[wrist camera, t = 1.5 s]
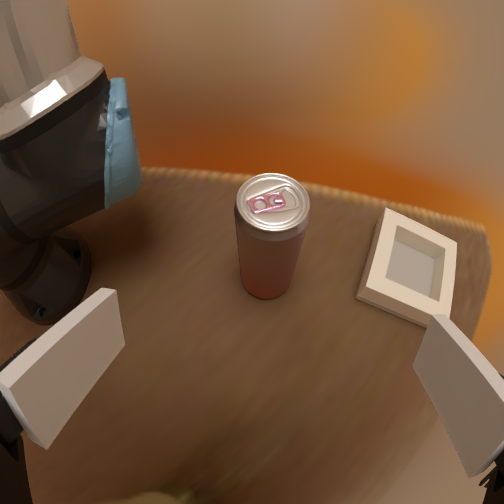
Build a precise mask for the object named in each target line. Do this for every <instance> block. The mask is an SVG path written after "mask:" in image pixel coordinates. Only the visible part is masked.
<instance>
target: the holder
mask: <svg viewBox="0 0 504 504" xmlns="http://www.w3.org/2000/svg"><path fill="white" fill-rule="evenodd" d="M456 252H457V243H456V242H454V241H453V240H451V239H449V238H447V237H445V236H443V235H441V234H439V233H437V232H435V231H434V230H432V229H430V228H428V227H426V226H424V225H422V224H420V223H418V222H416V221H413V220H411V219H409V218H407V217H405V216H403V215H401V214H399V213H397V212H394V211H392V210H390V209H388V208H385V210H384V212H383V213H382V215H381V217H380V218H379V220H378V222H377V223H376V226H375V230H374V234H373V238H372V241H371V245H370V249H369V252H368V256H367V259H366V263H365V266H364V270H363V273H362V276H361V279H360V283H359V286H358V289H357V292H356V295H355V299H358V300H360V301H362V302H365V303H367V304H370V305H372V306H374V307H377V308H379V309H381V310H384V311H386V312H389V313H391V314H393V315H396V316H398V317H401V318H403V319H405V320H408V321H410V322H412V323H415V324H417V325H420V326H422V327H424V328H427V326H428V323H429V320H430V317H431V314H445V315H446V316H447V317H448V318H449V316H450V310H451V303H452V296H453V288H454V278H455V267H456Z"/></svg>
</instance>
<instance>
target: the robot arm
mask: <svg viewBox="0 0 504 504" xmlns="http://www.w3.org/2000/svg"><path fill="white" fill-rule="evenodd" d="M141 183H142V170H141V165H140V159H139V154H138V149H137V144H136V138H135V133H134V127H133V122H132V115H131V109H130V103H129V97H128V92H127V85H126V80H125V79H124V78H116V77H115V78H112V79H111V80H110V81H109V80H108V78H107V75H106V72H105V69H104V66H103V64H102V63H100V62H97V61H94V60H92V59H89V58H86V57H84V56H83V55H82V54H81V52H80V49H79V46H78V42H77V39H76V36H75V32H74V28H73V25H72V21H71V17H70V14H69V9H68V6H67V1H66V0H0V289H1V290H2V291H3V292H4V293H5V295H6V296H7V297H8V299H9V300H10V301H11V302H12V304H13V305H14V306H15V307H16V309H17V310H18V311H19V312H20V313H21V314H22V315H23V316H24V317H26V318H27V319H29V320H31V321H33V322H35V323H38V324H42V325H49V324H53V323H56V322H57V323H56V324H55V325H54V326H53V327H51V328H50V329H49V330H48V331H47V332H45V333H44V334H43V335H42V336H41V337H38V338H36V339H34V340H32V341H30V342H28V343H27V344H26V345H24V346H23V347H22V348H21V349H20V351H17V352H16V353H15V354H14V355H13V357H11V358H10V359H8V360H7V361H6V362H5V363H4V364H3V365H2V366H1V367H0V504H33V502H32V497H31V493H30V488H29V482H28V476H27V470H26V463H25V455H24V445H23V439H22V436H21V435H20V433H21V432H22V431H23V429H24V431H25V432H26V434H27V435H28V437H29V438H30V439H31V441H33V442H34V443H36V444H38V445H39V446H41V447H43V448H44V449H46V450H48V448H49V447H50V445H51V444H52V442H53V441H54V440H55V438H56V437H57V435H58V434H59V432H60V431H61V430H62V428H63V427H64V425H65V424H66V423H67V421H68V420H69V418H70V417H71V416H72V414H73V413H74V411H75V410H76V409H77V407H78V406H79V405H80V403H81V402H82V401H83V399H84V398H85V397H86V395H87V394H88V392H89V391H90V390H91V388H92V387H93V386H94V385H95V383H96V382H97V381H98V379H99V378H100V377H101V375H102V374H103V373H104V371H105V370H106V369H107V367H108V366H109V365H110V364H111V362H112V361H113V360H114V358H115V357H116V356H117V355H118V353H119V352H120V351H121V349H122V348H123V347H124V346H125V341H124V336H123V330H122V325H121V319H120V312H119V306H118V299H117V291H116V290H114V289H108V288H100V289H99V290H98V291H96V292H95V293H94V294H93V295H91V296H90V297H89V298H87V299H86V300H85V301H84V302H82V303H81V304H80V305H79V306H77V304H78V303H79V301H80V300H81V298H82V296H83V294H84V292H85V290H86V287H87V284H88V281H89V277H90V271H91V257H90V252H89V249H88V246H87V244H86V243H85V241H84V240H83V239H82V238H81V237H80V235H79V234H78V233H77V232H76V231H75V230H73V229H72V228H71V227H69V226H67V225H69V224H71V223H74V222H76V221H78V220H80V219H82V218H84V217H86V216H89V215H91V214H93V213H95V212H97V211H100V210H102V209H105V210H107V209H108V208H109V207H110V206H111V205H112V204H114V203H117V202H119V201H121V200H123V199H125V198H127V197H129V196H131V195H133V194H134V193H136V192H137V190H138V189H139V187H140V186H141ZM76 306H77V307H76ZM75 307H76V308H75ZM74 308H75V309H74ZM73 309H74V310H73ZM58 321H59V322H58ZM412 367H413V369H414V371H415V373H416V374H417V376H418V378H419V380H420V381H421V383H422V385H423V387H424V389H425V390H426V392H427V394H428V396H429V398H430V399H431V401H432V403H433V405H434V407H435V409H436V411H437V413H438V415H439V417H440V418H441V420H442V422H443V424H444V426H445V428H446V430H447V432H448V434H449V436H450V438H451V441H452V443H453V445H454V446H455V449H456V451H457V453H458V455H459V458H460V460H461V462H462V464H463V466H464V469H465V471H466V473H467V476H468V478H470V477H473V476H475V475H478V474H480V473H482V472H484V471H485V470H486V469H487V468H488V467H489V466H490V465H491V464H492V463H493V461H495V463H496V465H497V466H496V467H495V468H494V469H493V470H492V471H491V472H490V473H489V474H488V475H487V476H486V477H485V478H484V479H483V480H482V481H481V482H480V484H479V486H481V485H483V484H484V483H485V482H486V481H487V480H488V479H489V482H488V483H487V484H486V485H485V486H484V487H486V488H487V491H486V494H485V498H484V501H483V504H504V377H503V376H502V375H501V374H499V373H498V372H497V371H496V370H495V369H494V368H493V366H492V365H491V364H490V363H489V362H488V361H487V360H486V358H485V357H484V356H483V355H482V354H481V353H480V351H479V350H478V349H477V348H476V347H475V346H474V345H473V344H472V343H471V341H470V340H469V339H468V338H467V337H466V336H465V335H464V334H463V333H462V332H461V331H460V330H459V329H458V328H457V326H456V325H455V324H454V323H453V322H452V321H451V320H450V319H449V318H448V317H447V316H446V315H445V314H431V317H430V320H429V323H428V326H427V329H426V332H425V335H424V338H423V340H422V343H421V346H420V348H419V351H418V353H417V356H416V358H415V361H414V363H413V366H412Z"/></svg>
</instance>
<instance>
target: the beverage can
mask: <svg viewBox="0 0 504 504" xmlns="http://www.w3.org/2000/svg"><path fill="white" fill-rule="evenodd" d="M234 214H235V224H236V234H237V244H238V254H239V263H240V273H241V280H242V283H243V286H244V287H245V289H246V290H247V291H248V292H249V293H250V294H252V295H253V296H255V297H258V298H262V299H271V298H275V297H277V296H279V295H281V294H282V293H284V292H285V291H286V290H287V288H288V287H289V285H290V282H291V279H292V276H293V272H294V269H295V266H296V263H297V259H298V256H299V253H300V249H301V246H302V243H303V239H304V236H305V232H306V229H307V225H308V222H309V218H310V200H309V196H308V193H307V191H306V190H305V188H304V187H303V186H302V185H301V184H300V183H299V182H298V181H296V180H295V179H293V178H291V177H289V176H286V175H283V174H278V173H265V174H260V175H256V176H254V177H252V178H250V179H249V180H247V181H246V182H245V183H244V184H243V185H242V186H241V187H240V189H239V191H238V193H237V196H236V202H235V206H234Z"/></svg>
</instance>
